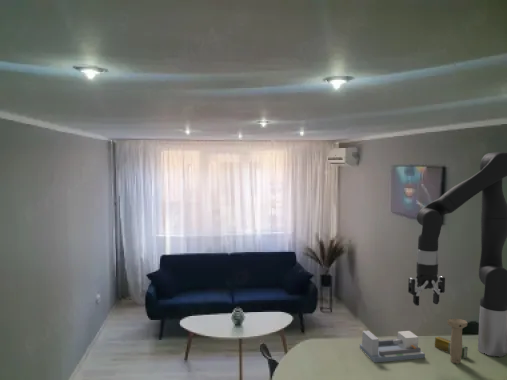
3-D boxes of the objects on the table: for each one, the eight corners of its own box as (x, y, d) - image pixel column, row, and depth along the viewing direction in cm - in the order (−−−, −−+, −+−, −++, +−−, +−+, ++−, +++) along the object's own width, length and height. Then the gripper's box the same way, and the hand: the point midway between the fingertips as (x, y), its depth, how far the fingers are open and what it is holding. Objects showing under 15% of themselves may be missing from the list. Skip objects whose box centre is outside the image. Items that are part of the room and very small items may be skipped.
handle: (467, 365, 155) (469, 323, 154) (449, 365, 155) (451, 323, 154) (461, 359, 160) (463, 318, 159) (443, 358, 160) (445, 318, 159)
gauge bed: (407, 344, 172) (407, 325, 172) (424, 357, 161) (425, 337, 160) (359, 347, 168) (360, 328, 168) (374, 362, 157) (374, 341, 156)
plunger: (409, 343, 169) (409, 330, 169) (421, 352, 161) (421, 339, 161) (390, 345, 167) (390, 332, 167) (401, 354, 159) (401, 341, 159)
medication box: (467, 357, 162) (468, 347, 161) (463, 359, 160) (464, 348, 160) (438, 345, 172) (438, 335, 171) (434, 347, 170) (434, 337, 170)
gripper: (438, 258, 169) (436, 300, 171) (404, 260, 167) (403, 302, 168) (450, 263, 162) (449, 306, 163) (415, 264, 159) (414, 309, 160)
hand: (425, 304), depth 166 cm, fingers open, 7 cm apart
